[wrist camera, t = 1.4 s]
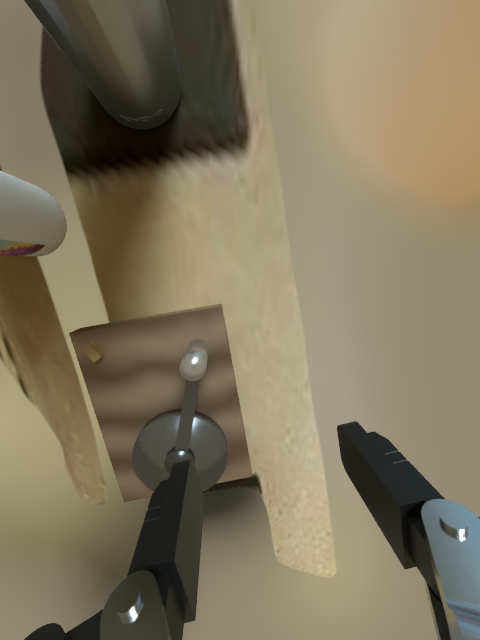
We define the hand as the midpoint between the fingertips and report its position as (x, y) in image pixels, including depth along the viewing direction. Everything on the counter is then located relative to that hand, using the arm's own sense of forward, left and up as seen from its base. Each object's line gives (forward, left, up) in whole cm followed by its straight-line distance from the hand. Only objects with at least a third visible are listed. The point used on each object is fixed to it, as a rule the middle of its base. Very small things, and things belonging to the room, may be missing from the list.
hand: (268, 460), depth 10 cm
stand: (+9, -10, -24) cm, 27 cm away
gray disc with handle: (+10, -8, -21) cm, 25 cm away
